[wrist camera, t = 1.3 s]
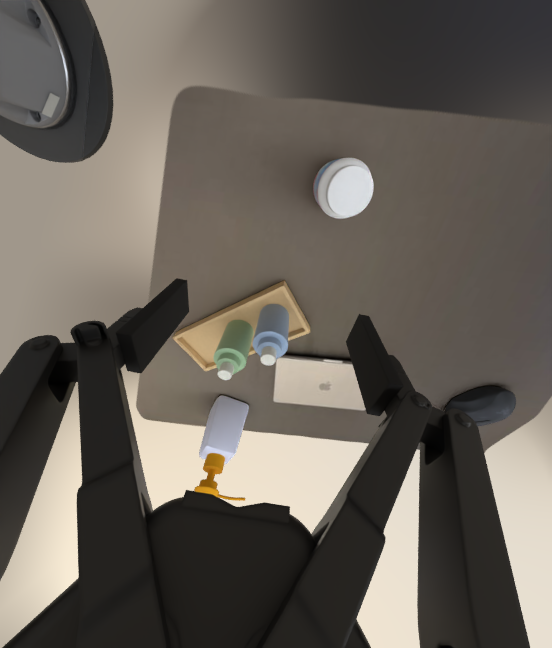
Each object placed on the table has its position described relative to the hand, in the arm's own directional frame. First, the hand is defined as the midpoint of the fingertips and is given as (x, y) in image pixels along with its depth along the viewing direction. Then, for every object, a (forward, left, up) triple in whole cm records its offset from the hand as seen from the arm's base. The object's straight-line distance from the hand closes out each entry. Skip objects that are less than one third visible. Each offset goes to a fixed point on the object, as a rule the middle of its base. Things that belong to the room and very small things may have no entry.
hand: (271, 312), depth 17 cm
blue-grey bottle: (+7, -14, -23) cm, 28 cm away
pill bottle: (+2, +10, -24) cm, 26 cm away
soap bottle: (+16, -48, -24) cm, 56 cm away
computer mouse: (+62, -14, -24) cm, 68 cm away
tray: (+3, -21, -24) cm, 32 cm away
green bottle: (+3, -21, -23) cm, 31 cm away
